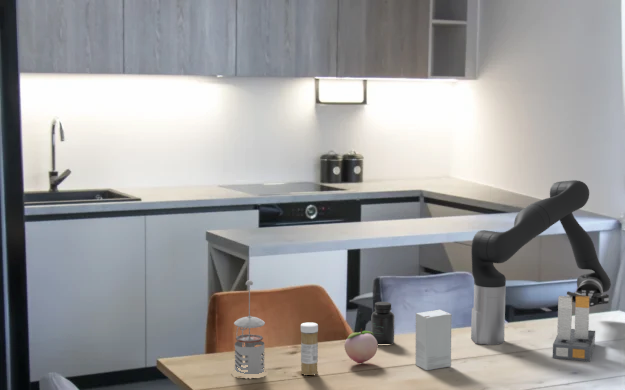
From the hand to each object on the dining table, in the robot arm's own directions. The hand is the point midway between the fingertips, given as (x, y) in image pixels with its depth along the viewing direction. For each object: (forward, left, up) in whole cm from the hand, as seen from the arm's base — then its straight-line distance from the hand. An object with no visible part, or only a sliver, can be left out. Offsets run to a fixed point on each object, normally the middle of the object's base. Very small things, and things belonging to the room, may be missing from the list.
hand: (585, 302), depth 274 cm
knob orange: (-5, -11, -8) cm, 14 cm away
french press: (-100, -24, -12) cm, 103 cm away
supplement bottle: (-60, +4, -12) cm, 61 cm away
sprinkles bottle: (-84, -26, -12) cm, 89 cm away
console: (-6, -8, -12) cm, 16 cm away
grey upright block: (-10, -11, -8) cm, 17 cm away
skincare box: (-50, -21, -12) cm, 56 cm away
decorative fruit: (-69, -18, -12) cm, 72 cm away
